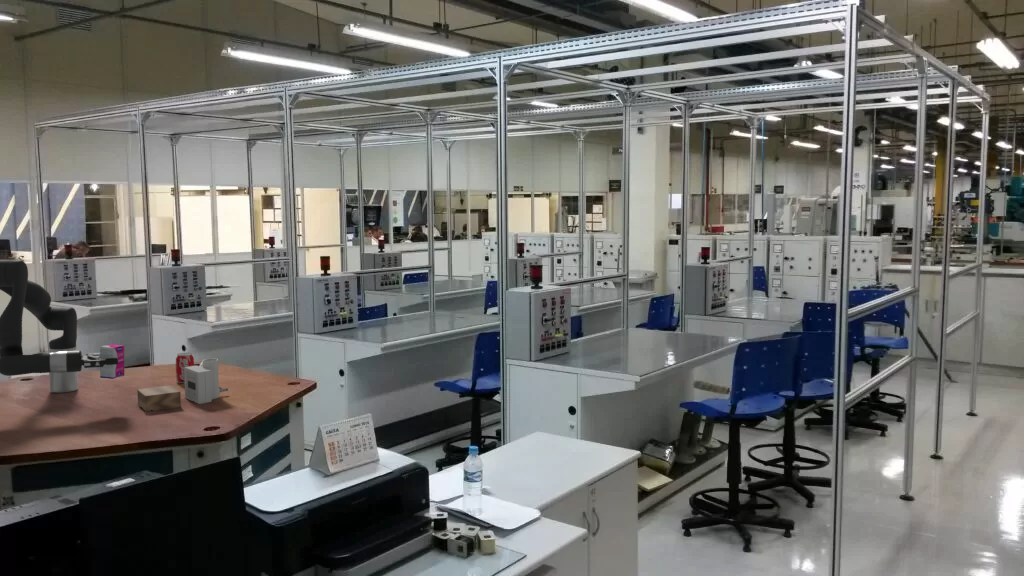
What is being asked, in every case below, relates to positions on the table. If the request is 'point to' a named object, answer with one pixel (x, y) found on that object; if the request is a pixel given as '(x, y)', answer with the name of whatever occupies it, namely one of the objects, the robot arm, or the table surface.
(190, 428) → the table surface
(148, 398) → the walnut block
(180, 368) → the soda can
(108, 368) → the supplement box
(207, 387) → the thermostat
